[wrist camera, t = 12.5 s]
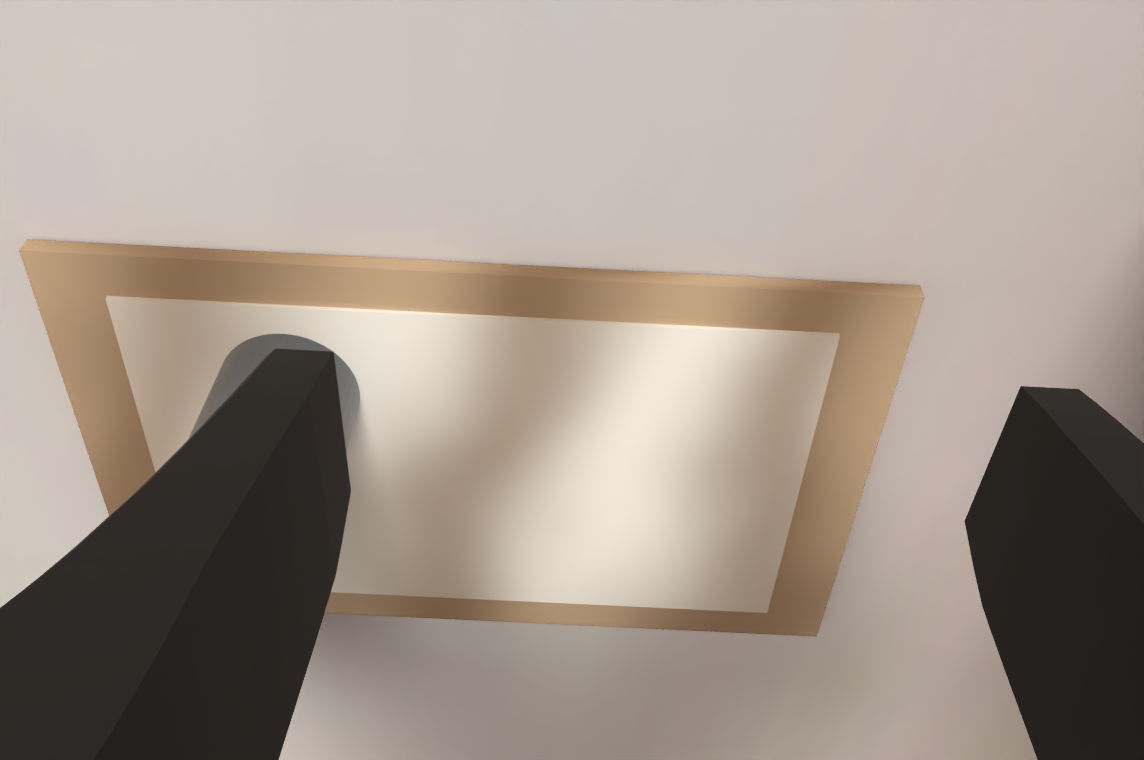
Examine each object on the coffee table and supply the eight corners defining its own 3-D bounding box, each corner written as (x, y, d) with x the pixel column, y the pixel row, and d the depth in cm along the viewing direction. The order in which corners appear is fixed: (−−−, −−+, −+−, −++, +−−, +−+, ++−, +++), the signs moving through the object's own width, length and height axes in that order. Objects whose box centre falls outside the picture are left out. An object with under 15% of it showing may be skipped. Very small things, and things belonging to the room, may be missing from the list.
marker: (352, 332, 22) (256, 646, 15) (370, 444, 23) (291, 765, 17) (203, 331, 22) (46, 645, 15) (232, 443, 23) (104, 763, 17)
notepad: (920, 285, 21) (925, 299, 21) (813, 623, 28) (817, 639, 28) (27, 239, 21) (17, 252, 20) (144, 592, 28) (138, 607, 27)
